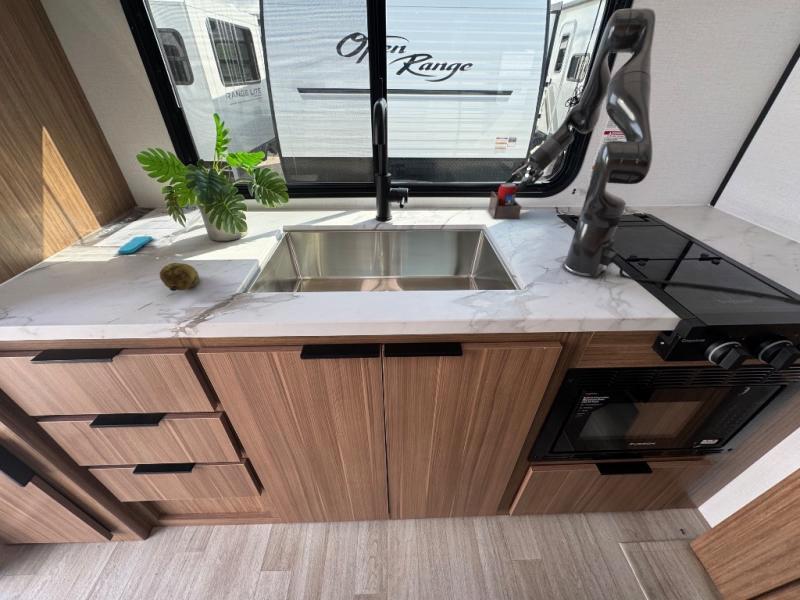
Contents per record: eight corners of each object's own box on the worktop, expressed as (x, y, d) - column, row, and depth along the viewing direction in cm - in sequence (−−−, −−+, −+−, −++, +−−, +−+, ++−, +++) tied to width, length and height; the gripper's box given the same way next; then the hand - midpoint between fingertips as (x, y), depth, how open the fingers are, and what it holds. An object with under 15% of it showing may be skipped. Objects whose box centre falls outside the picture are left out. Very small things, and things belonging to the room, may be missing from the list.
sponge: (110, 251, 100) (129, 249, 100) (134, 236, 110) (151, 234, 109) (113, 256, 100) (131, 253, 100) (137, 240, 110) (153, 238, 110)
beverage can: (507, 218, 128) (513, 187, 121) (491, 215, 131) (496, 184, 124) (514, 214, 132) (520, 184, 126) (498, 210, 136) (503, 181, 129)
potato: (212, 274, 90) (202, 248, 85) (192, 300, 79) (180, 271, 75) (181, 276, 89) (169, 249, 85) (156, 302, 78) (142, 273, 74)
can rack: (511, 210, 136) (515, 191, 131) (518, 218, 128) (522, 198, 123) (488, 210, 136) (491, 191, 131) (494, 218, 128) (497, 198, 123)
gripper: (530, 144, 125) (498, 176, 130) (552, 150, 114) (516, 185, 118) (539, 158, 129) (507, 189, 134) (561, 165, 118) (526, 198, 122)
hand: (511, 187), depth 126 cm, fingers open, 8 cm apart
